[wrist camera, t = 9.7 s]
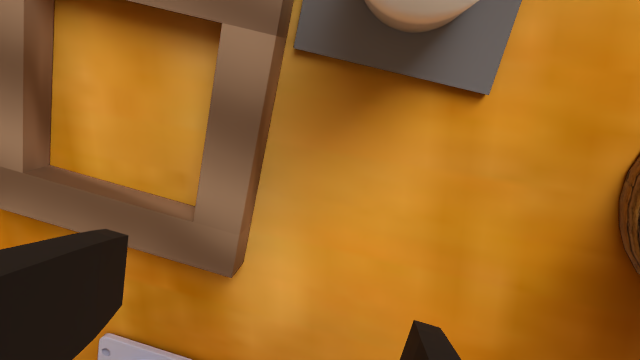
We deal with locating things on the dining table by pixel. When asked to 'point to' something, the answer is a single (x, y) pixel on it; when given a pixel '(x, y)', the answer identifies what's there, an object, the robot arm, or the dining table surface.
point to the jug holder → (126, 203)
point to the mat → (412, 41)
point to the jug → (417, 13)
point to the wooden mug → (631, 215)
